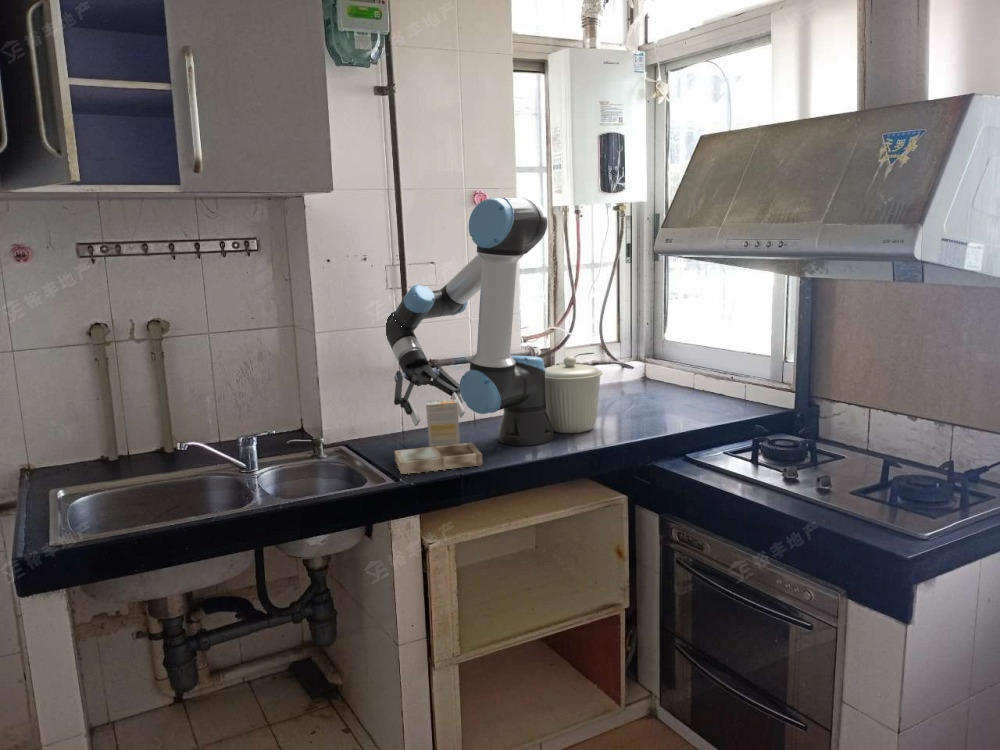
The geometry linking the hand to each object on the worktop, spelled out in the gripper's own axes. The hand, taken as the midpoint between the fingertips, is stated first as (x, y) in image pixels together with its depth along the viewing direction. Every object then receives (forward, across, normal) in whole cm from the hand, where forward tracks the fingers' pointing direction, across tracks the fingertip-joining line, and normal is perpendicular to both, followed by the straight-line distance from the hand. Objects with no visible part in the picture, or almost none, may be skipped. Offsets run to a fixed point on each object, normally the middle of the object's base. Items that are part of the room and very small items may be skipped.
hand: (440, 418), depth 211 cm
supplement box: (+7, 0, -5) cm, 9 cm away
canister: (+11, -38, -1) cm, 40 cm away
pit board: (+14, +8, +2) cm, 16 cm away
